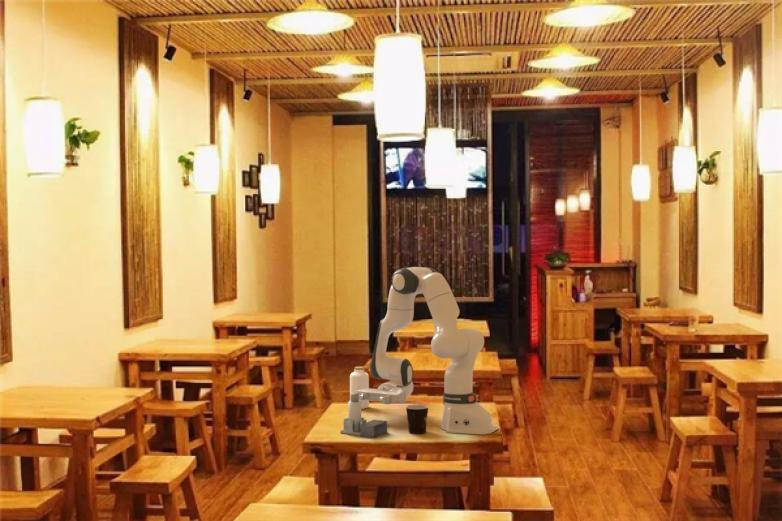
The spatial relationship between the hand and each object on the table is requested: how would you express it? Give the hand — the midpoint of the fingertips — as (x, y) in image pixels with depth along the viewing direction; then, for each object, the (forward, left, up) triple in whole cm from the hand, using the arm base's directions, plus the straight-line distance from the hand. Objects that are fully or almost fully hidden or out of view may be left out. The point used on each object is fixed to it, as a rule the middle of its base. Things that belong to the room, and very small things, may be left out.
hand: (370, 398), depth 351 cm
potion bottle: (+24, -29, -11) cm, 39 cm away
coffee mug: (-21, +3, -11) cm, 24 cm away
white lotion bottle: (0, +12, -10) cm, 15 cm away
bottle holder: (-4, +12, -11) cm, 17 cm away
